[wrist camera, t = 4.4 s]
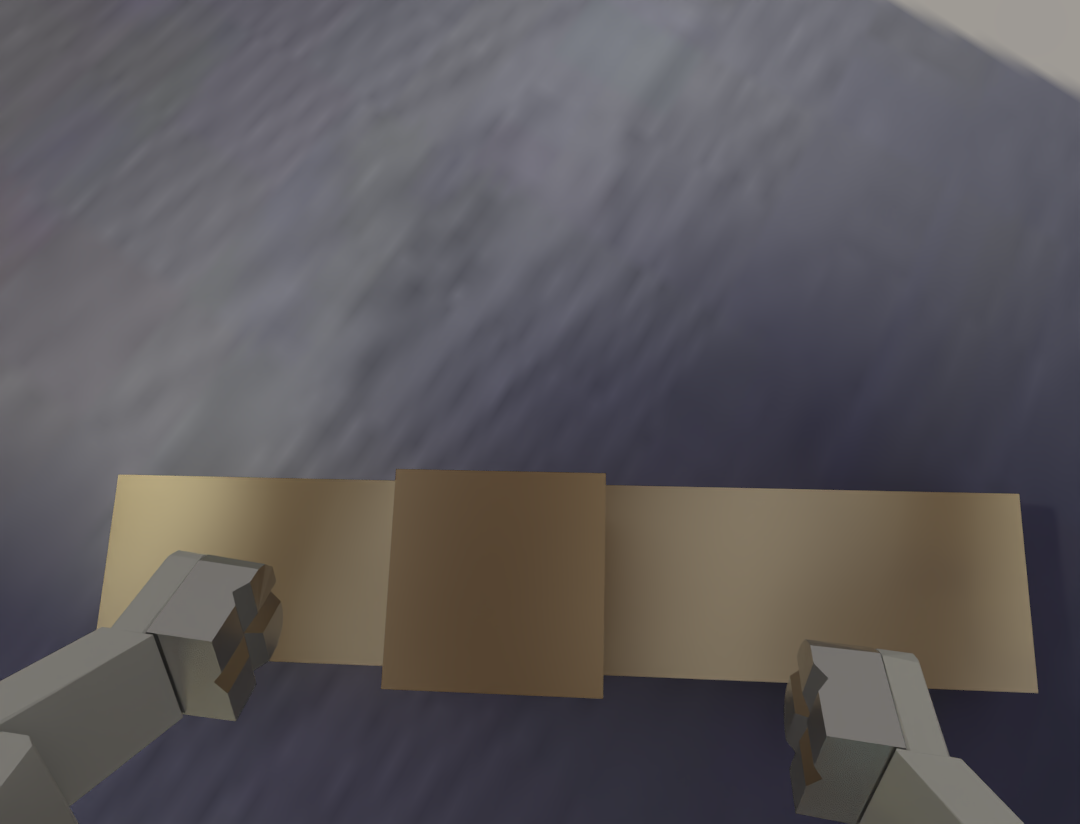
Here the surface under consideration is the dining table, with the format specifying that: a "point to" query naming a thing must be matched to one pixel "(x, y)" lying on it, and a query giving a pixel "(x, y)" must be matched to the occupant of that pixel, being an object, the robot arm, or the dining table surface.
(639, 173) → the dining table surface
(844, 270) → the dining table surface
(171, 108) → the dining table surface
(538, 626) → the balance bar
